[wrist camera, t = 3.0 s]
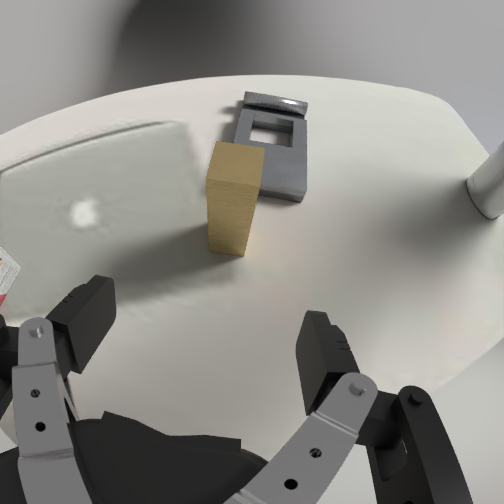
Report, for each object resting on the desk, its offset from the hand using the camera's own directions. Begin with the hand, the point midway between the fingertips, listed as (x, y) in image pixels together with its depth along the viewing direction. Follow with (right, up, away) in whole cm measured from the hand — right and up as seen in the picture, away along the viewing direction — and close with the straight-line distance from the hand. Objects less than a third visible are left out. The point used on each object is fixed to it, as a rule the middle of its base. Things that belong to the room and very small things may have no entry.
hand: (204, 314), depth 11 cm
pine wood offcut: (-1, +4, +19) cm, 19 cm away
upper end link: (+4, +15, +24) cm, 28 cm away
